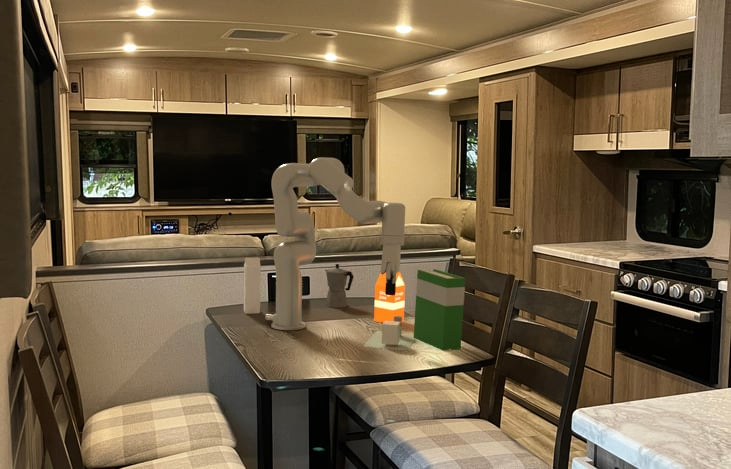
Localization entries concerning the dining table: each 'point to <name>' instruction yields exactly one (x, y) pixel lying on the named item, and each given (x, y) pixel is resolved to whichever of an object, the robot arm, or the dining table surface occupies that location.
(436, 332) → the hardback book
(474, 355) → the dining table surface
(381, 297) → the orange juice
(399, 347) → the mat
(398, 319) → the post
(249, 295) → the milk
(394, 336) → the beige foam cube
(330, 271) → the coffeepot
